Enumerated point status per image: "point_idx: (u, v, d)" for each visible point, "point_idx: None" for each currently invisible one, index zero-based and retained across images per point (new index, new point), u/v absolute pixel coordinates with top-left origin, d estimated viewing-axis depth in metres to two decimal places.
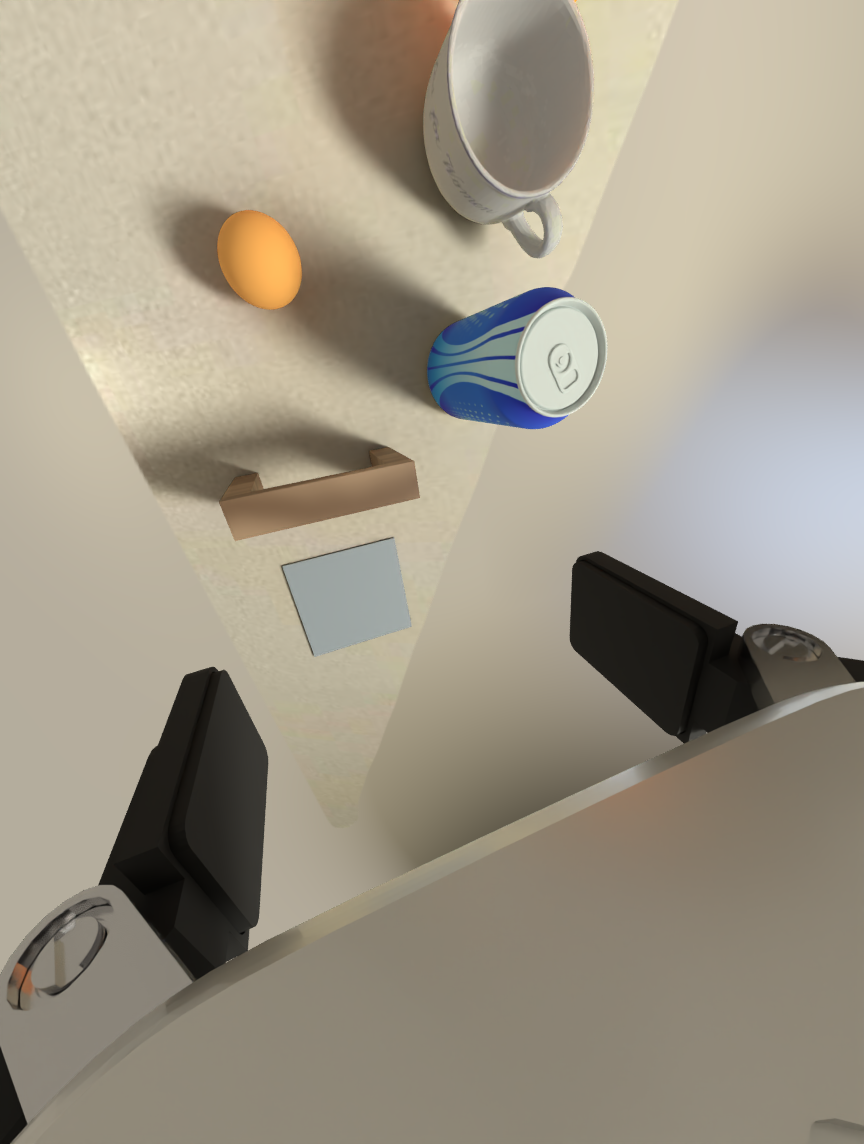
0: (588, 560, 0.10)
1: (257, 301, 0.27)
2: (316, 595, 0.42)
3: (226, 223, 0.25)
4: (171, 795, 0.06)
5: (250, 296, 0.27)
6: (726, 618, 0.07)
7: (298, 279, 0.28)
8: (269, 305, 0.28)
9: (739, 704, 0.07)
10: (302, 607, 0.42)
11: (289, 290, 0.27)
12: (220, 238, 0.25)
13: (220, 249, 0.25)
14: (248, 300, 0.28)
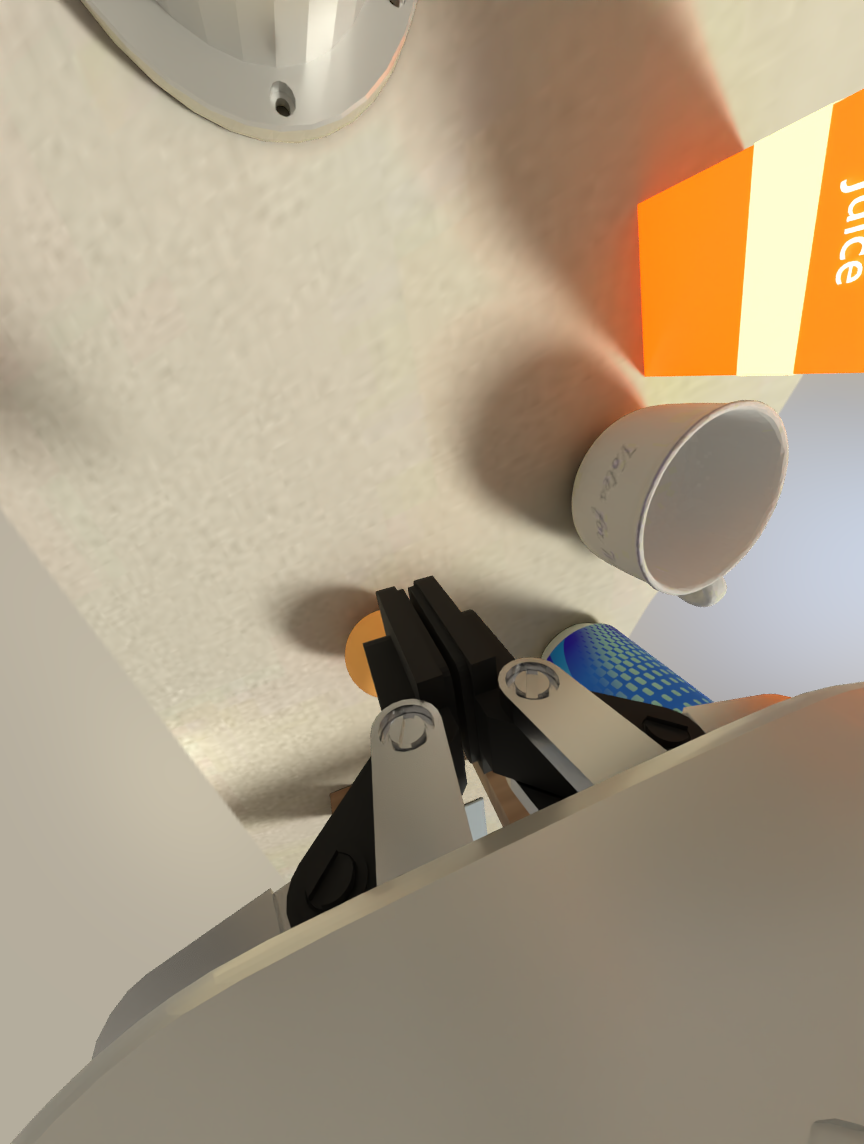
0: (417, 585, 0.10)
1: None
2: None
3: (363, 650, 0.22)
4: (427, 652, 0.08)
5: None
6: (487, 652, 0.07)
7: None
8: None
9: (495, 738, 0.07)
10: None
11: None
12: (355, 662, 0.22)
13: (353, 671, 0.22)
14: None
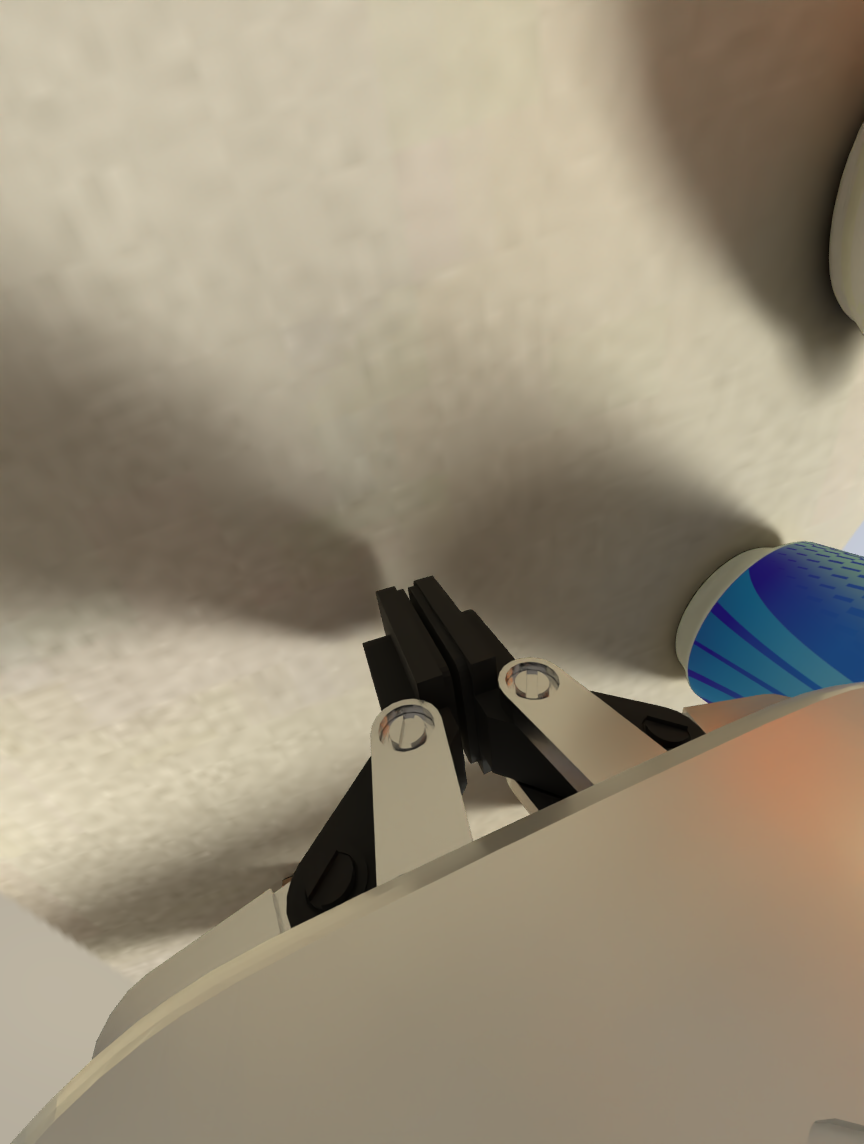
0: (417, 585, 0.10)
1: None
2: None
3: None
4: (427, 652, 0.08)
5: None
6: (487, 653, 0.07)
7: None
8: None
9: (495, 738, 0.07)
10: None
11: None
12: None
13: None
14: None
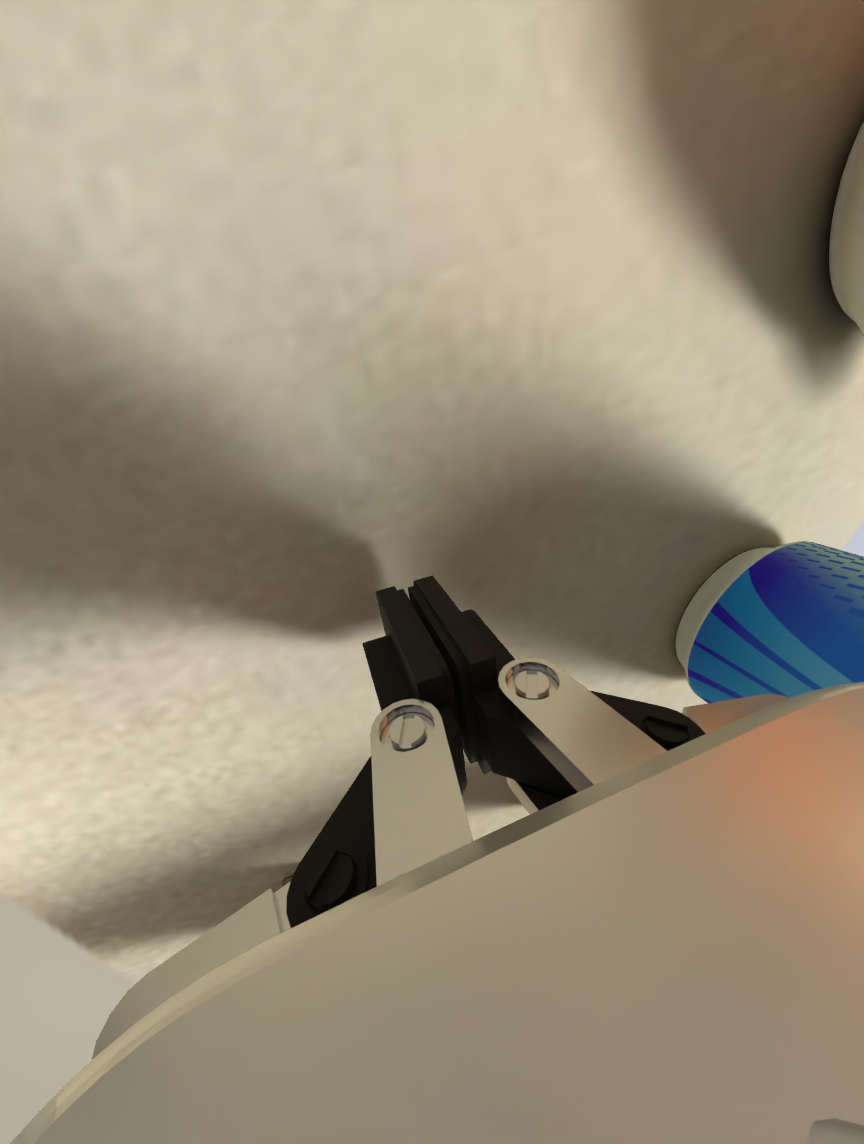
0: (417, 585, 0.10)
1: None
2: None
3: None
4: (427, 652, 0.08)
5: None
6: (487, 653, 0.07)
7: None
8: None
9: (495, 738, 0.07)
10: None
11: None
12: None
13: None
14: None
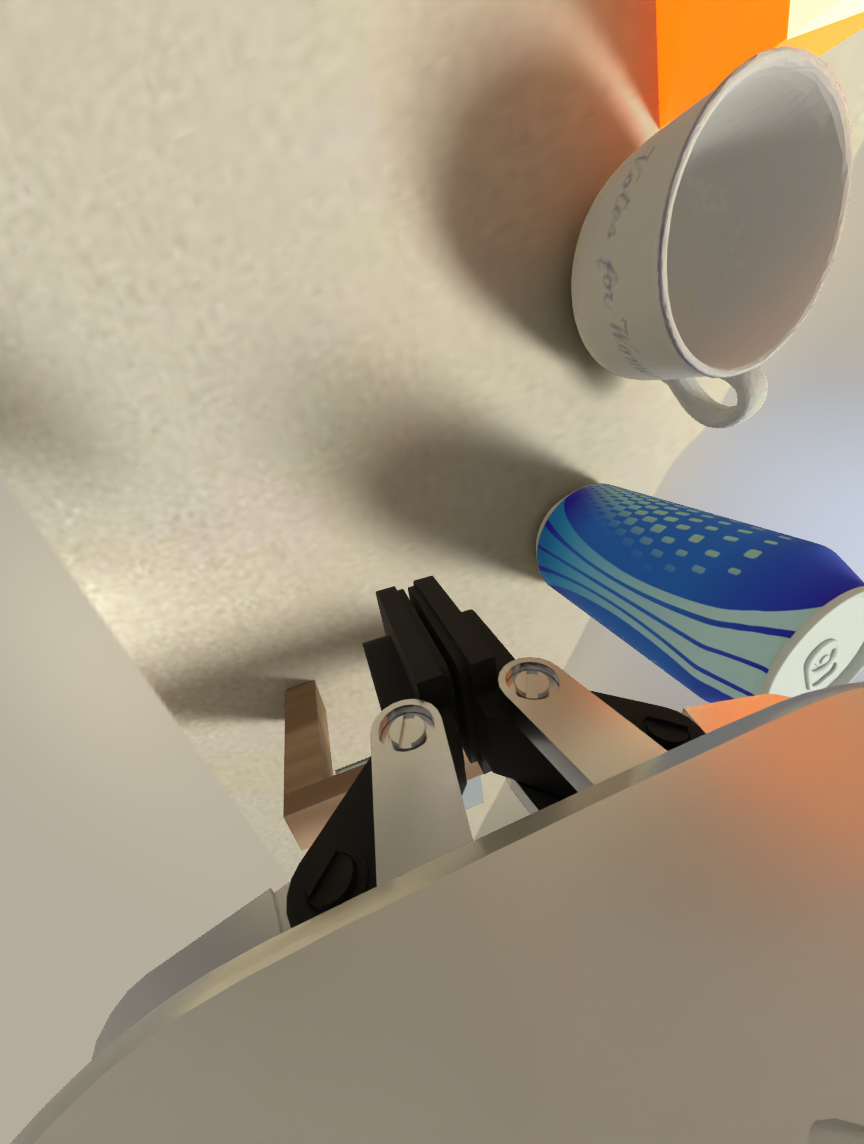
0: (417, 585, 0.10)
1: None
2: None
3: None
4: (427, 652, 0.08)
5: None
6: (487, 652, 0.07)
7: None
8: None
9: (495, 738, 0.07)
10: None
11: None
12: None
13: None
14: None
